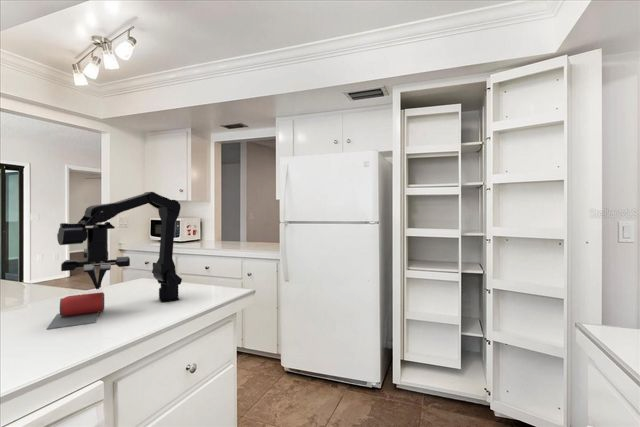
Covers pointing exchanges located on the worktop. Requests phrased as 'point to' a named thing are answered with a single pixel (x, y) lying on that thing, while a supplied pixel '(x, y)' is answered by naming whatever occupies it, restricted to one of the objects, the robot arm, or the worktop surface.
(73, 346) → the worktop surface
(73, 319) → the mat
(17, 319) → the worktop surface
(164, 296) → the robot arm
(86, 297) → the beer can
